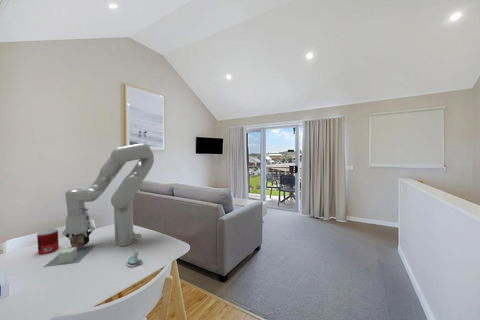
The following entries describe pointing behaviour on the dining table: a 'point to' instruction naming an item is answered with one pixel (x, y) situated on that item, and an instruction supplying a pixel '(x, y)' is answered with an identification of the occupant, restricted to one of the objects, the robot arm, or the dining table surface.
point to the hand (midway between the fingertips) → (80, 244)
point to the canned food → (47, 241)
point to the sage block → (67, 255)
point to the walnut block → (77, 240)
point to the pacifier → (133, 259)
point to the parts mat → (80, 254)
